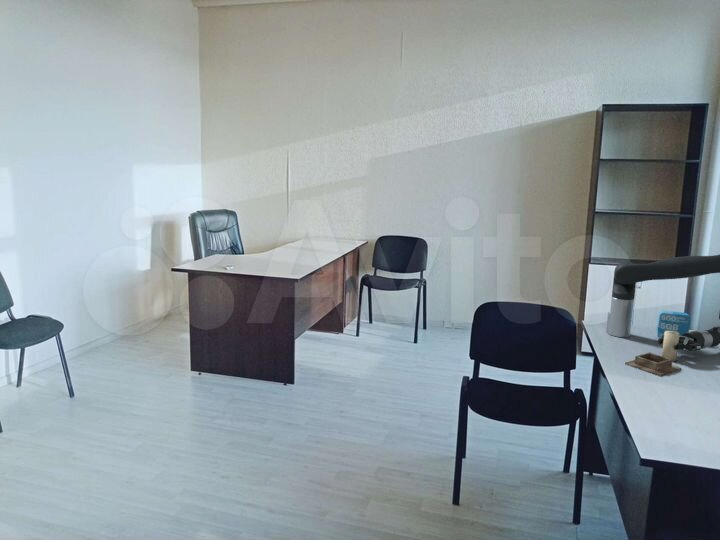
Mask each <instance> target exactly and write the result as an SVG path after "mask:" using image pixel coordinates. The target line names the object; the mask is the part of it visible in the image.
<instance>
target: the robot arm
mask: <svg viewBox="0 0 720 540" xmlns="http://www.w3.org/2000/svg"><path fill="white" fill-rule="evenodd" d="M710 274H712V275H713V274H720V254H716V255H684V256H677V257H669V258H664V259H661V260H658V261H654V262H650V263H641V264H637V263H636V264H634V263H632V262H630V261H622V262H618V264H617V265H616V266H615V269H614V272H613V281H612V282H613V283H612V292H611V299H610V301H611V302H610V310H609V312H608V313H607V320H606V327H605V328H606V329H605V332H606V333H607V334H608V335H610V336H613V337H617V338H629V337H630V336H631V329H632V321H633V314H634V313H633V312H634V306H635V305H634V303H635V297H636V285H637V284H638V283H640V282H646V281H647V282H648V281H657V280H659V281H661V280H662V281H663V280H664V281H665V280H677V279H678V280H679V279H687V278H689V279H690V278H695V277H701V276H705V275H710ZM718 320H720V311H719V314H718ZM663 341H664V335H662V338H657V344H659V345H663ZM719 345H720V326H713V327H712V328H709V329H704V330H702V329H701V330H691V331H689V332H685V333H684V334H683V335H682V336H679V342H678V344H675V345H674V349H675V350H677V351H680V350H683V351H686V350H687V351H688V352H695V351H701V350H703V349H707V348H713V347H716V346H719Z"/></svg>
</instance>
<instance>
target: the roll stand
mask: <svg viewBox="0 0 720 540" xmlns="http://www.w3.org/2000/svg"><path fill="white" fill-rule="evenodd" d="M624 364H625V365H626V364H627V365H626V366H629V365H630V366H629V367H632V368H635V369H637V368H638V370H640V371H643V372H647V373H648V374H651V373H652V375H654V374H655V376H657V375H658V377H661V376H665V375H668V374H671V373H675V372H678V371H681V370H682V367H680V366H676V365H673V361H672V359H669V358H666V357H663V356H662V355H660V354H656V353H654V352H653V353H652V352H646V353H642V354H638V355H636V356H635V358H634V360H631V361H626V362H624Z"/></svg>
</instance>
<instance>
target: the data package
mask: <svg viewBox="0 0 720 540" xmlns="http://www.w3.org/2000/svg"><path fill="white" fill-rule="evenodd" d="M690 325H691V316H690V315H689V313H687V312H681V311H670V310H660V311H659V312H658V316H657V325H656V336H657V339H659V338H662V335H664V332H665V331H675V332H678V333H679V336H682V335H683V334H684V333H685V332H690Z"/></svg>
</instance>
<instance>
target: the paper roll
mask: <svg viewBox="0 0 720 540" xmlns="http://www.w3.org/2000/svg"><path fill="white" fill-rule="evenodd" d="M678 342H679V333H678V332H675V331H665V332H664V341H663V344H662V352H661V356H663V357H666V358H669V359H672V362H676V361H677V357H678V350H675V349H674V345H675V344H678Z"/></svg>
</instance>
